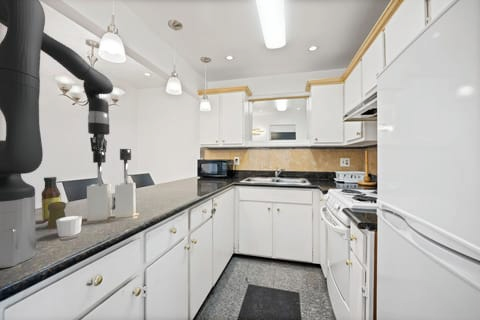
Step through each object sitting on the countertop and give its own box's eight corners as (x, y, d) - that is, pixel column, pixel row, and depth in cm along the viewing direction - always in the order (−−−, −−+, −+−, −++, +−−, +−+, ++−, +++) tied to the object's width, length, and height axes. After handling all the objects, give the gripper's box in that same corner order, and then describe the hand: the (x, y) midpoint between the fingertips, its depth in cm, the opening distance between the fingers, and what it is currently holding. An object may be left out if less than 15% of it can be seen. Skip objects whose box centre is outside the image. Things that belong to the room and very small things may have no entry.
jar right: (133, 217, 85) (133, 184, 84) (115, 219, 82) (115, 185, 82) (135, 213, 91) (135, 182, 91) (118, 214, 88) (118, 183, 88)
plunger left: (104, 198, 81) (104, 151, 81) (90, 199, 79) (90, 150, 79) (108, 196, 86) (107, 151, 86) (94, 196, 84) (94, 151, 84)
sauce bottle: (65, 218, 88) (65, 176, 88) (50, 223, 82) (50, 177, 81) (53, 218, 89) (52, 176, 88) (37, 222, 82) (36, 177, 82)
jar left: (107, 220, 81) (106, 185, 81) (87, 222, 78) (86, 186, 78) (111, 215, 87) (111, 183, 87) (93, 217, 85) (92, 184, 85)
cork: (66, 225, 78) (65, 199, 78) (68, 229, 75) (68, 201, 75) (45, 230, 74) (45, 202, 74) (47, 234, 70) (46, 204, 70)
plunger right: (131, 194, 85) (130, 149, 85) (118, 194, 83) (117, 148, 83) (132, 192, 90) (132, 149, 89) (120, 193, 88) (120, 149, 88)
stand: (136, 221, 84) (136, 218, 84) (81, 227, 76) (81, 224, 76) (139, 215, 93) (139, 212, 93) (90, 220, 86) (90, 216, 86)
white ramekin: (63, 243, 63) (63, 222, 63) (51, 239, 65) (51, 219, 65) (86, 235, 69) (86, 216, 69) (75, 232, 71) (74, 214, 71)
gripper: (104, 120, 77) (104, 162, 77) (113, 126, 90) (113, 161, 91) (81, 119, 74) (82, 162, 75) (94, 125, 88) (94, 161, 88)
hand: (99, 161), depth 83 cm, fingers closed on plunger left, 4 cm apart
